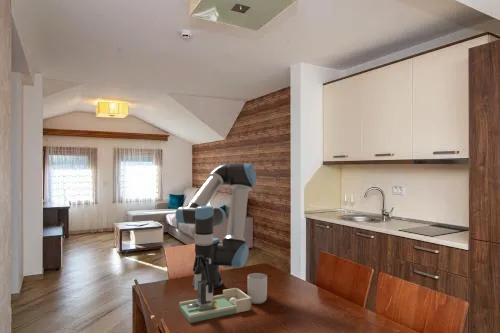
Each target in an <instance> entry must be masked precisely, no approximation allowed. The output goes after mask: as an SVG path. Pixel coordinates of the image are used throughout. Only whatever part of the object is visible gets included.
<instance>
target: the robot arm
mask: <svg viewBox="0 0 500 333" xmlns="http://www.w3.org/2000/svg"><path fill="white" fill-rule="evenodd" d="M256 184H257V171H256V168H255V166H254V165H253V164H252V163H246V162H245V163H223V164H221V165H219V166H217V167H216V168H215V167H214V169H213V170H211V172H209V174H207V176H206V181H205V182H204V183H203V184H202V185H201V186H200V188H199V190H197V192H196V193H195V194H194V196H193V197H192V198H191V199H190V201H189V202H188V203H187V205H186V206H180V207H178V208H177V209H176V211H175V214H174V216H175V220H176V222H177V223H179V224H184V225H194V228H195V229H194V236H193V238H194V243H195V244H194V254H195V257H194V262H193V267H192V272H193V274H194V276H193V279H192V286H193V287H194V291H198V281H202V280H206V281H207V283H206V284H205V285H206V301H211V300H213V296H214V289H216V288H219V287H221V286H222V285H223V278H222V274H221V271H220V267H231V268H242V267H244V265H245V264H246V262H247V260H248V257H249V254H250V253H249V251H250V250H249V244H247V243H246V242H247V241H246V239H245V238H244V232H245V226H246V224H245V223H246V216H247V208H248V207H247V206H248V199H249V193H250V192H251V191H252V190H253V189H252V188H253V187H254V186H256ZM227 185H228V186H230V187H229V188H230V189H231V198H230V207H229V215H228V222H227V228H226V230H227V231H226V235H225V236H224V237H223V238H222V241H220V238H217V237H214V227H215V226H219V225H221V224H222V223H224V221H225V220H226V217H227V216H226V215H227V214H226V212H225V211H224V209H223V208H221V207H213V206H210V205H208V204H209V203H210V201H211V199H212V198H214V196H215V194H216V193H217V192H218V190H219V189H221V188H222V187H223V186H227Z"/></svg>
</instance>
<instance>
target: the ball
mask: <svg viewBox="0 0 500 333" xmlns="http://www.w3.org/2000/svg"><path fill="white" fill-rule="evenodd" d="M236 300H237V299H236V298H234V297H233V298H231V299H230V300H229V302H230V303H231V304H232V305H233V306H234V305H236Z"/></svg>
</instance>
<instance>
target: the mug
mask: <svg viewBox="0 0 500 333" xmlns="http://www.w3.org/2000/svg"><path fill="white" fill-rule="evenodd" d="M246 282H247V286H246V288H247V290H246V291H247V292H246V293H247V295H248V296H249V297H251V304H256V305H257V304H258V305H260V304H263V303H265V302H266V301H267V299H268V293H267V292H268V275H267V274H265V273H260V272H253V273H249V274H248V275H247V281H246Z"/></svg>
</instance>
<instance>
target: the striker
mask: <svg viewBox="0 0 500 333" xmlns="http://www.w3.org/2000/svg"><path fill="white" fill-rule="evenodd" d="M206 283H207V281H206V280H202V281H198V290H197V298H196V299H197V300H195V299H193V300H194V304H191V305H187V309H189V308H194V307H197V309H198V310H199V311H200V310H205V309H210V308H217V302H216V301H215V300H214V299H213V300H211V301H206V285H205V284H206Z"/></svg>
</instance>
